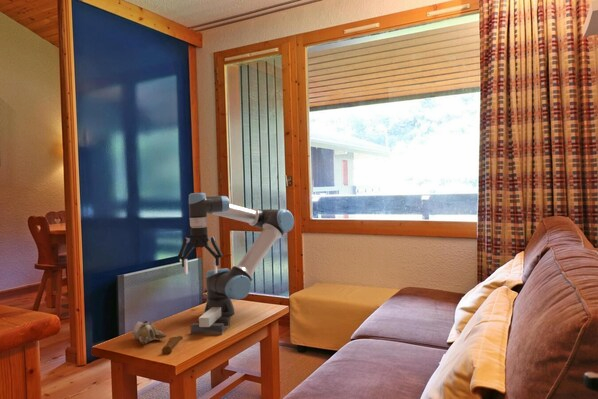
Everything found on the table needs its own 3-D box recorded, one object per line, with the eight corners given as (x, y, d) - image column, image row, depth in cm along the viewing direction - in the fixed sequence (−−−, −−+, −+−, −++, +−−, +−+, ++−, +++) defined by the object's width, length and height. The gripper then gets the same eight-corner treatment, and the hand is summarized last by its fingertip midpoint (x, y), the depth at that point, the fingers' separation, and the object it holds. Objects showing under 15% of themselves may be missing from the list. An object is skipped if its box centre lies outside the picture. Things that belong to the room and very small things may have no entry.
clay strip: (212, 315, 192) (211, 307, 192) (221, 315, 192) (221, 307, 192) (199, 326, 177) (198, 317, 177) (209, 327, 176) (208, 317, 176)
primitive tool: (170, 338, 176) (170, 330, 176) (183, 337, 177) (183, 329, 177) (161, 356, 157) (161, 347, 157) (176, 355, 158) (176, 346, 158)
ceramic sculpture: (149, 314, 182) (167, 322, 172) (149, 333, 182) (167, 342, 173) (125, 320, 174) (143, 329, 164) (126, 340, 174) (144, 350, 165)
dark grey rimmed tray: (201, 325, 191) (200, 316, 191) (230, 325, 189) (229, 317, 189) (191, 334, 179) (190, 325, 179) (221, 334, 177) (221, 325, 177)
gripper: (168, 228, 182) (171, 276, 183) (223, 226, 181) (226, 274, 181) (174, 227, 190) (177, 272, 190) (227, 225, 188) (230, 270, 189)
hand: (201, 273), depth 186 cm, fingers open, 13 cm apart
